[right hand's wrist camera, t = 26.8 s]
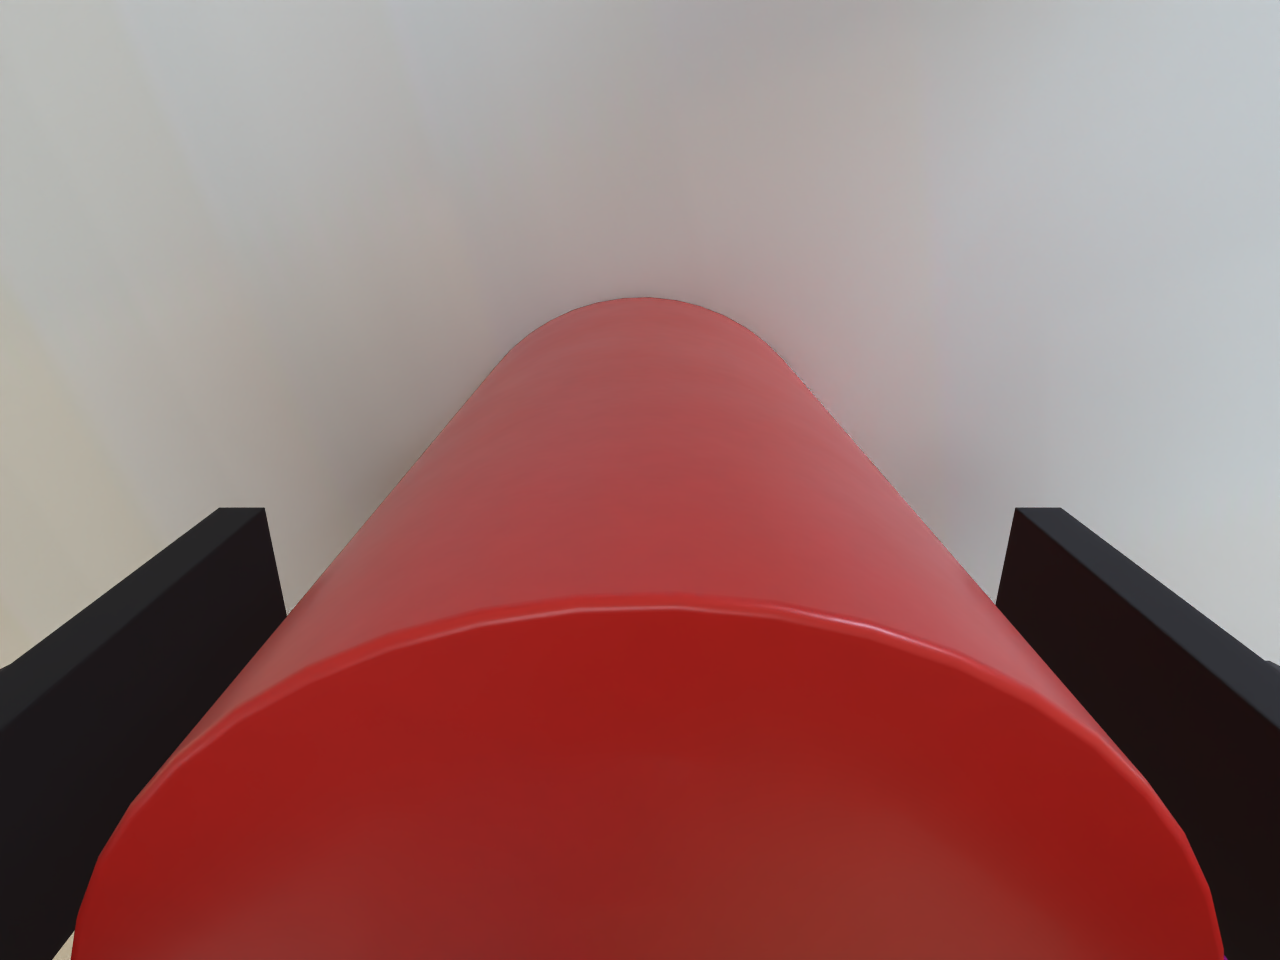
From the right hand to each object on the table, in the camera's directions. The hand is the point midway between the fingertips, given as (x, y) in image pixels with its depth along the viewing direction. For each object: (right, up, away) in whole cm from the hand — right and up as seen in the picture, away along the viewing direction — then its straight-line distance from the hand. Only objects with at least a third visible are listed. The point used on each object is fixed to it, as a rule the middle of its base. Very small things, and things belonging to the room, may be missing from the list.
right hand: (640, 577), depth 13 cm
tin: (0, +2, +4) cm, 5 cm away
